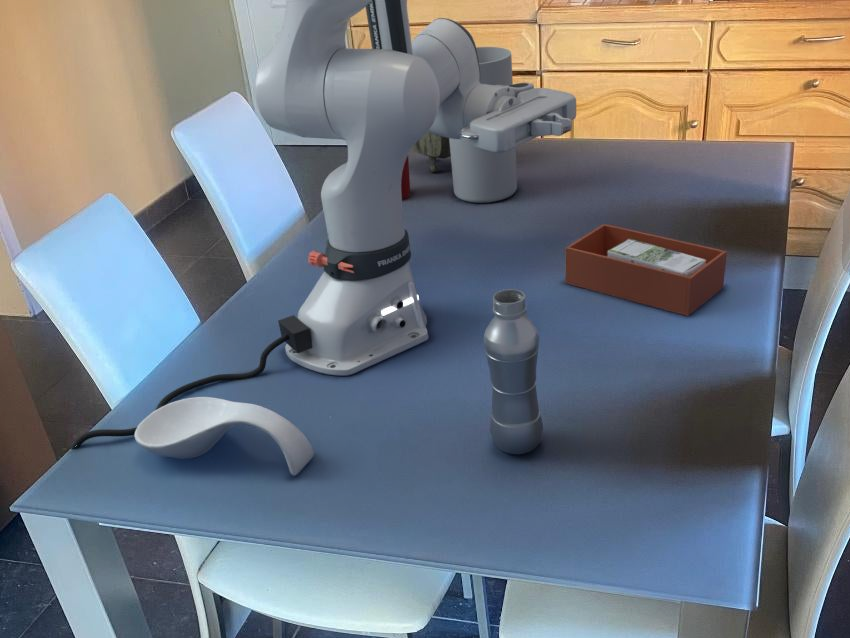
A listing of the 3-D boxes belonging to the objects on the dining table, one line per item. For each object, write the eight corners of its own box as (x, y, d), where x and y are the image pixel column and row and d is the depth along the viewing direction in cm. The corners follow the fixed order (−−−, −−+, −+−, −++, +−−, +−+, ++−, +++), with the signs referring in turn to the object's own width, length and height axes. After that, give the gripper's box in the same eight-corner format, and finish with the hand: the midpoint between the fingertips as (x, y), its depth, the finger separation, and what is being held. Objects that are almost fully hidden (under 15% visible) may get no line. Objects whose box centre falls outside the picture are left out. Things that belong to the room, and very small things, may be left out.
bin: (723, 287, 144) (727, 251, 140) (687, 316, 138) (690, 278, 134) (603, 258, 156) (603, 223, 152) (565, 283, 150) (565, 247, 146)
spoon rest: (123, 463, 119) (105, 416, 114) (178, 414, 127) (163, 368, 122) (283, 495, 111) (271, 445, 106) (330, 441, 119) (320, 392, 115)
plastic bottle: (505, 467, 112) (495, 316, 99) (482, 439, 117) (470, 292, 104) (553, 451, 114) (549, 301, 101) (528, 424, 119) (521, 278, 106)
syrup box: (606, 284, 147) (683, 309, 139) (606, 248, 143) (685, 273, 135) (628, 270, 150) (704, 295, 142) (629, 235, 146) (707, 258, 138)
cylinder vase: (496, 208, 177) (488, 66, 161) (442, 199, 183) (428, 61, 167) (528, 185, 185) (523, 49, 169) (475, 178, 191) (466, 45, 175)
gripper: (450, 113, 140) (524, 125, 133) (532, 79, 152) (603, 88, 144) (454, 155, 144) (525, 169, 136) (533, 119, 156) (603, 130, 148)
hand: (566, 127), depth 141 cm, fingers closed
